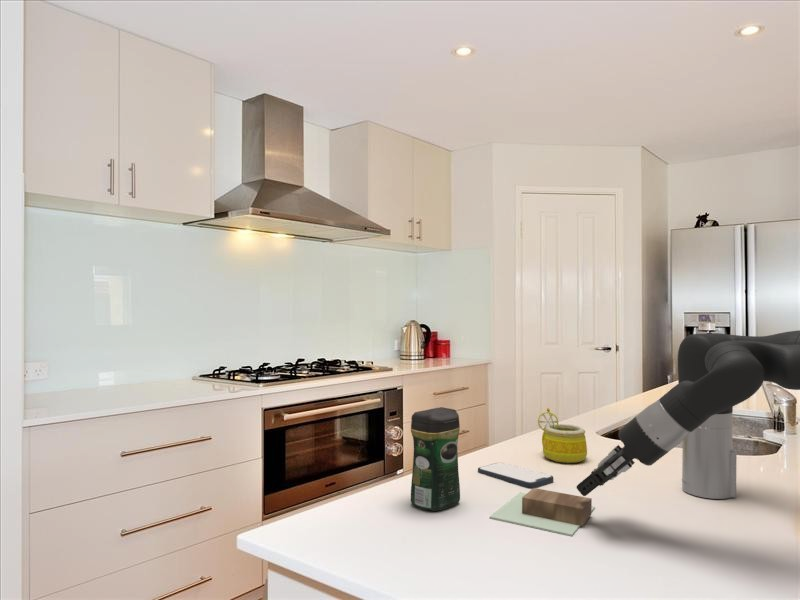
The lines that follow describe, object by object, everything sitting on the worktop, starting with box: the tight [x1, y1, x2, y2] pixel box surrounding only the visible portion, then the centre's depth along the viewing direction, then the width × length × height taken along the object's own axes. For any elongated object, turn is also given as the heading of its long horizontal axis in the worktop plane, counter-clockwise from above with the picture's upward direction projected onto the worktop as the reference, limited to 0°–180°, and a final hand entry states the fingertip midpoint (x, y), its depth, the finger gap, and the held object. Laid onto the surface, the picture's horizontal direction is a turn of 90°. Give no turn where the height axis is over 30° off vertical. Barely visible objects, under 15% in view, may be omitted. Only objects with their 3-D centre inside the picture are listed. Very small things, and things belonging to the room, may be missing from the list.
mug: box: [537, 407, 588, 464], centre depth 148 cm, size 13×11×12 cm
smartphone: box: [477, 462, 554, 490], centre depth 132 cm, size 9×2×16 cm
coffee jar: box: [410, 406, 461, 512], centre depth 114 cm, size 10×8×19 cm
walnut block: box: [522, 487, 593, 527], centre depth 108 cm, size 3×6×11 cm
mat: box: [489, 492, 596, 537], centre depth 109 cm, size 15×16×1 cm
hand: (580, 490), depth 106 cm, fingers closed
